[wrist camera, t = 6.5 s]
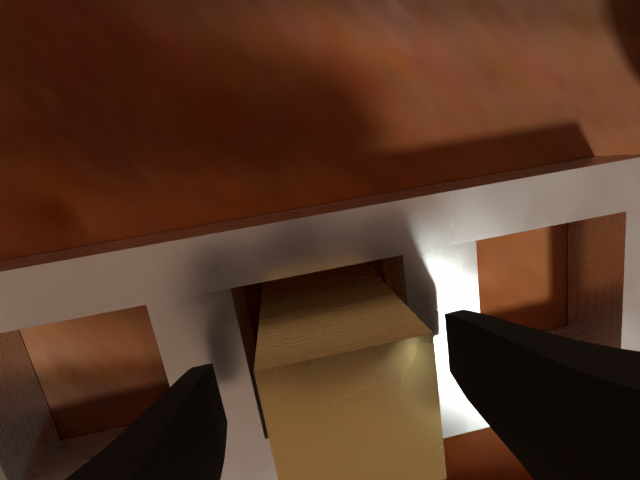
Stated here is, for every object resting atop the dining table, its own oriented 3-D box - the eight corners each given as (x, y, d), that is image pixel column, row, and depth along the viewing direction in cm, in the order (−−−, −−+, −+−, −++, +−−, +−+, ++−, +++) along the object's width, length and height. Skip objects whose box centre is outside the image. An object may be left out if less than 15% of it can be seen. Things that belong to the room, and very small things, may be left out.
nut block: (376, 352, 14) (446, 478, 8) (282, 373, 14) (287, 520, 8) (364, 262, 13) (433, 332, 8) (262, 281, 13) (253, 371, 7)
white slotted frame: (592, 354, 16) (647, 387, 13) (42, 485, 13) (-7, 550, 11) (596, 155, 14) (662, 153, 11) (-48, 269, 11) (-130, 295, 9)
